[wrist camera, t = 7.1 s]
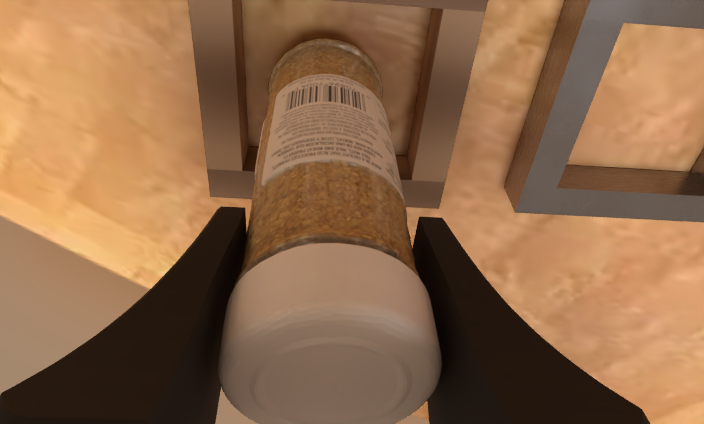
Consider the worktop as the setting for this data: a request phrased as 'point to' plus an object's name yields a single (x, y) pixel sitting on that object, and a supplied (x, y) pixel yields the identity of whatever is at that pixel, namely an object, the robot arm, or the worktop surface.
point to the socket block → (568, 116)
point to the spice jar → (328, 258)
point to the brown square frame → (429, 117)
